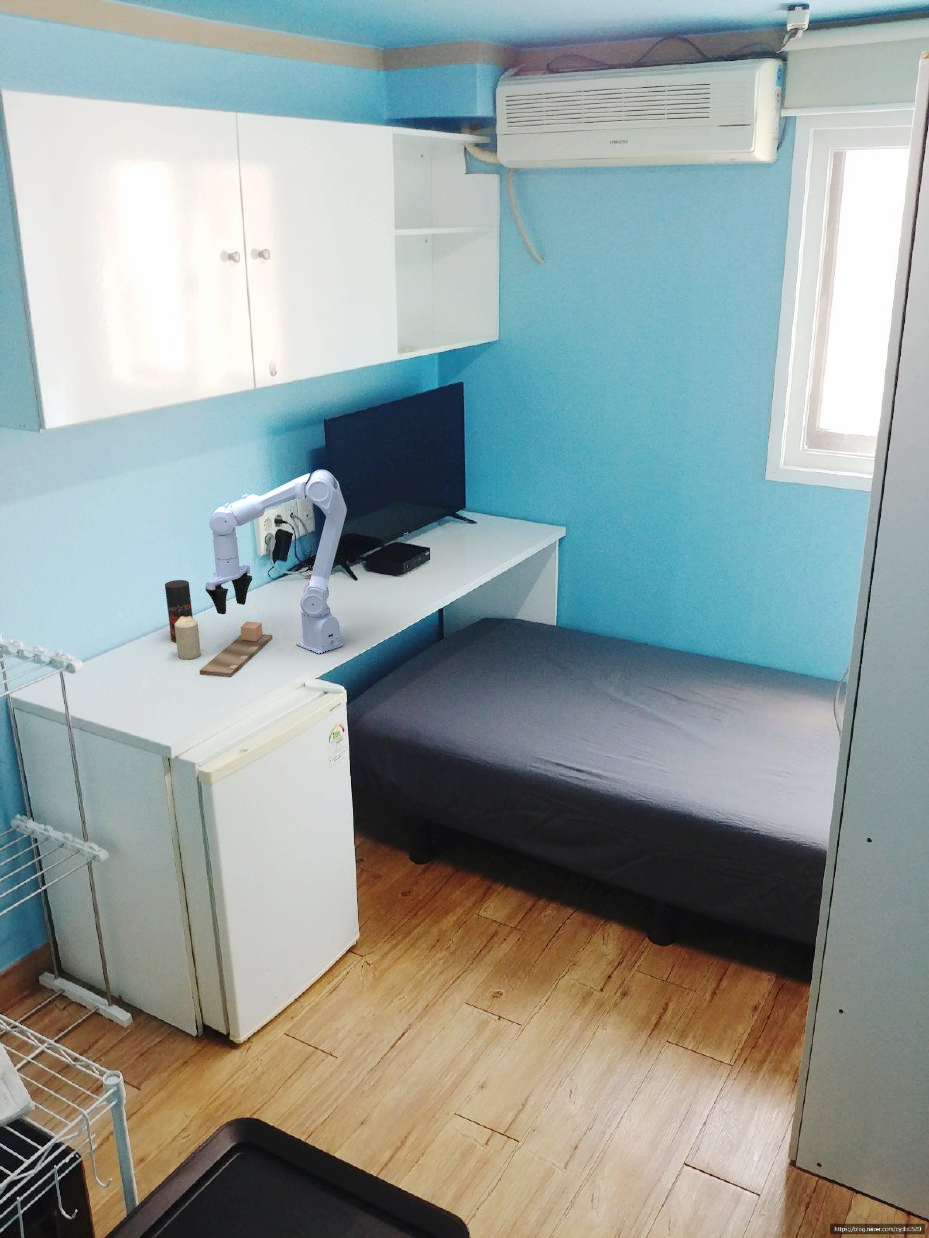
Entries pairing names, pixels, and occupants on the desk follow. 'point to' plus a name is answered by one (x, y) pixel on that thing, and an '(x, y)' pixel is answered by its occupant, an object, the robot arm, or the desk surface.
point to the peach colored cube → (251, 631)
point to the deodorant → (177, 603)
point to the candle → (187, 638)
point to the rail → (234, 656)
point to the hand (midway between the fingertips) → (231, 608)
